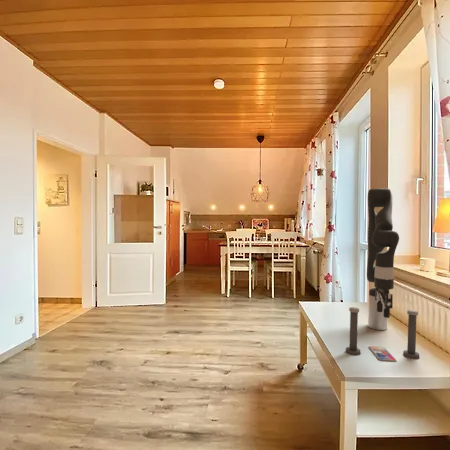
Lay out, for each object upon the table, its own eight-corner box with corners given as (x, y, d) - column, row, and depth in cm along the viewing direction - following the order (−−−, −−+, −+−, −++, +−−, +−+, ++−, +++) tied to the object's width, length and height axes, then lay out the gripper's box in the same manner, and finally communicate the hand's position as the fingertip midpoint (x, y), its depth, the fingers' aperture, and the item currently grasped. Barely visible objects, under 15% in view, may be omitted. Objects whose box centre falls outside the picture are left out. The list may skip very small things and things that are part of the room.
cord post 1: (344, 349, 151) (345, 306, 150) (358, 350, 150) (359, 307, 150) (347, 354, 145) (348, 310, 145) (362, 355, 144) (363, 310, 144)
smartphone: (384, 346, 153) (397, 360, 138) (384, 349, 153) (397, 363, 138) (367, 345, 154) (378, 359, 139) (367, 347, 154) (378, 361, 139)
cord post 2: (401, 352, 148) (402, 308, 148) (415, 353, 148) (416, 309, 147) (406, 358, 142) (408, 312, 142) (421, 359, 142) (423, 313, 141)
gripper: (369, 274, 153) (368, 309, 153) (380, 279, 139) (379, 319, 139) (387, 274, 152) (386, 310, 152) (399, 280, 138) (398, 320, 138)
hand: (382, 314), depth 146 cm, fingers open, 8 cm apart
